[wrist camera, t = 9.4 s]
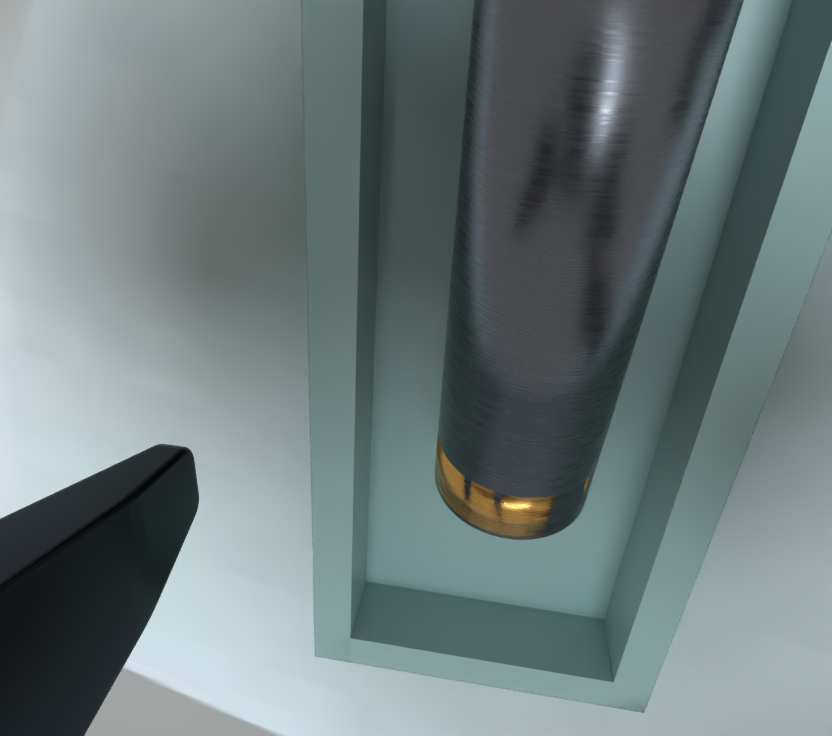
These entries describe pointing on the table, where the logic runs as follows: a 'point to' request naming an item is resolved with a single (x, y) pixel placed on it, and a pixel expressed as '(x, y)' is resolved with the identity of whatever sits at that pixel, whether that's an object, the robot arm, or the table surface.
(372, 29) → the tray
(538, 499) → the dark grey cylinder
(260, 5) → the table surface
